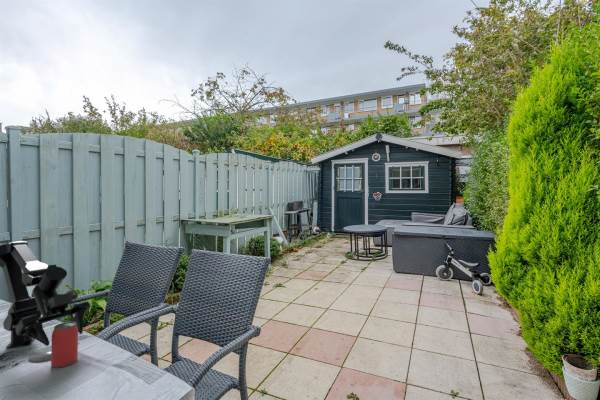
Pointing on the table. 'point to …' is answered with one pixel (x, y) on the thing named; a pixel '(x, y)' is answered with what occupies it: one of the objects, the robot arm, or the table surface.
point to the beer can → (64, 344)
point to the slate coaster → (41, 354)
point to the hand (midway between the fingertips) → (65, 338)
